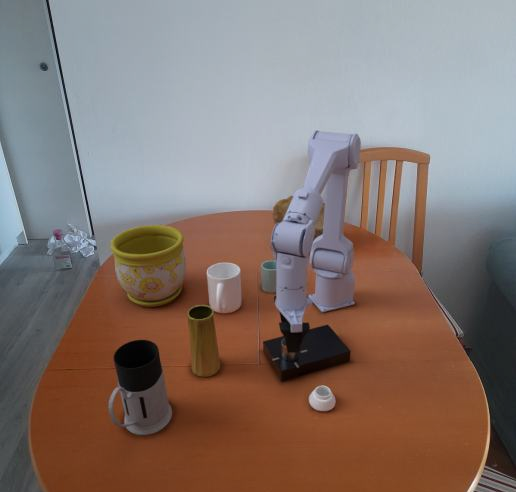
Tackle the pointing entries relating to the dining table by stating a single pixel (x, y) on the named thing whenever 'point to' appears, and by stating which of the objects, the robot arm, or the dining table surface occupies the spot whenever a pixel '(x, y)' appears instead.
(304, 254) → the robot arm
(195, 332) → the vase
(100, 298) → the dining table surface
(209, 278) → the mug
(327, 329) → the hob
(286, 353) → the hob knob
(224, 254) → the dining table surface
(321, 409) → the white jar
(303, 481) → the dining table surface
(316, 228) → the rough brown rock
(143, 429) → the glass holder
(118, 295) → the dining table surface
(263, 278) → the cup
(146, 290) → the flowerpot
